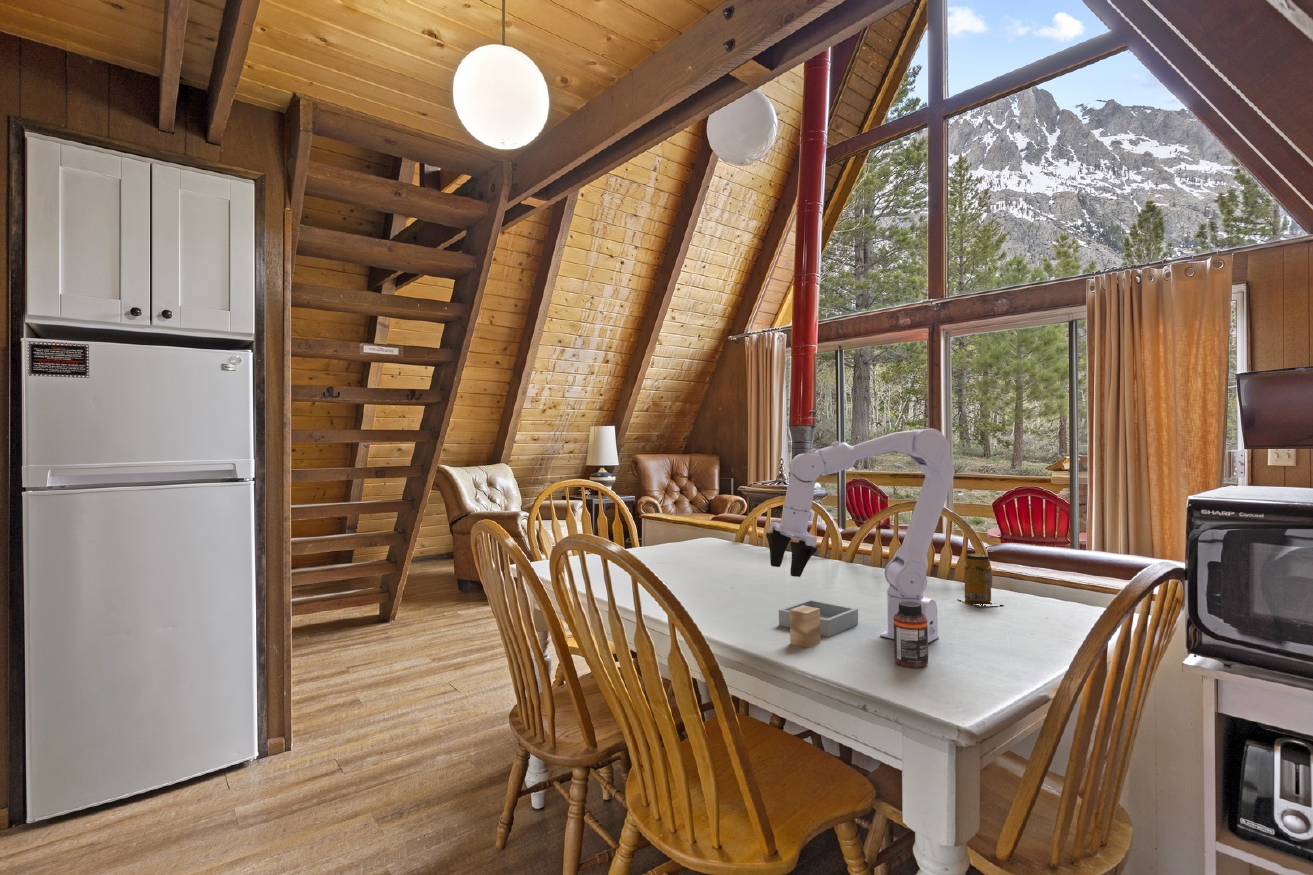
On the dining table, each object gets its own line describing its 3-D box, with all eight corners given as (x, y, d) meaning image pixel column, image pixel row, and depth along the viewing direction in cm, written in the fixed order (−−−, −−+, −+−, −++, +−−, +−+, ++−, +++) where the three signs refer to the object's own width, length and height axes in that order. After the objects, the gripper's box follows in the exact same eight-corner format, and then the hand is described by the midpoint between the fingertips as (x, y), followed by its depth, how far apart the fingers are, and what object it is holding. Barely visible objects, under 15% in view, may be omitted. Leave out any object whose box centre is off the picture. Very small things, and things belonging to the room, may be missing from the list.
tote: (858, 624, 148) (857, 608, 148) (828, 636, 140) (828, 620, 140) (809, 614, 157) (809, 599, 157) (778, 625, 149) (778, 609, 149)
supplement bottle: (900, 655, 127) (899, 597, 127) (932, 662, 123) (931, 602, 123) (889, 664, 123) (888, 603, 122) (922, 671, 119) (921, 608, 119)
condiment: (980, 598, 171) (979, 551, 171) (1004, 606, 162) (1004, 557, 162) (955, 600, 169) (955, 553, 169) (979, 608, 161) (978, 559, 161)
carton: (820, 642, 136) (819, 608, 136) (807, 648, 133) (806, 613, 133) (803, 638, 139) (803, 605, 139) (790, 643, 136) (789, 609, 136)
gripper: (763, 500, 146) (751, 560, 146) (801, 513, 133) (789, 579, 133) (789, 504, 149) (778, 563, 149) (829, 517, 135) (817, 582, 136)
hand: (785, 571), depth 141 cm, fingers open, 7 cm apart
